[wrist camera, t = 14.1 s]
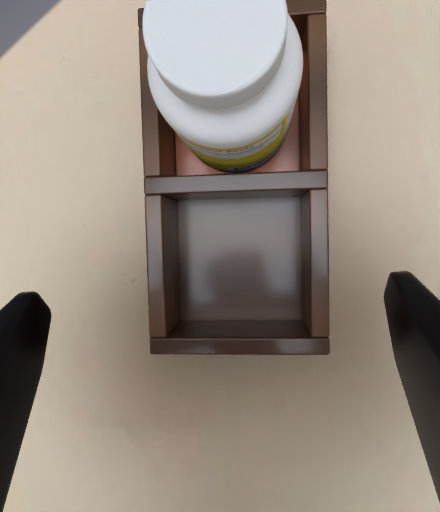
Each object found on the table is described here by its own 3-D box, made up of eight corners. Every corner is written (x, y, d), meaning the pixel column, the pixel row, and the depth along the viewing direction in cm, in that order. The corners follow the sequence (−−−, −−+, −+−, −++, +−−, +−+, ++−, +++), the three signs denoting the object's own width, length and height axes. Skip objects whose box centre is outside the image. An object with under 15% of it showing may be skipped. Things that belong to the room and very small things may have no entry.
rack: (315, 331, 21) (330, 355, 17) (169, 332, 22) (149, 355, 18) (312, 40, 20) (326, -8, 16) (160, 51, 21) (137, 8, 17)
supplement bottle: (211, 51, 20) (168, -121, 10) (306, 95, 20) (356, -40, 10) (166, 148, 21) (86, 72, 11) (259, 193, 20) (263, 155, 10)
